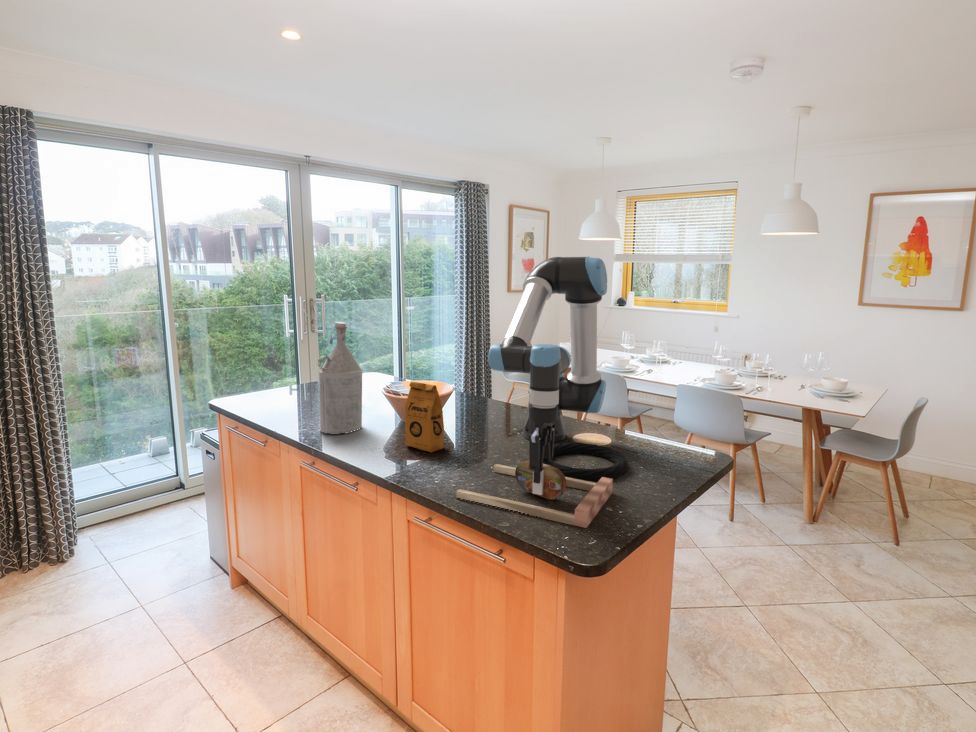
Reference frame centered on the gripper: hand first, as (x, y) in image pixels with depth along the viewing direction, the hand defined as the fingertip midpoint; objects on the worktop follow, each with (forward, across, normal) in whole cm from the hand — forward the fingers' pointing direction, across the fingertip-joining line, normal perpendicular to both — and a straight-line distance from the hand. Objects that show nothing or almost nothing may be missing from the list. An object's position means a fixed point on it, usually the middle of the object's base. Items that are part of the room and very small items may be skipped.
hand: (540, 490), depth 147 cm
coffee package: (+2, -19, -49) cm, 52 cm away
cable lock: (+2, -29, +1) cm, 29 cm away
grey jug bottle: (+2, -20, -87) cm, 89 cm away
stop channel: (+2, 0, -1) cm, 2 cm away
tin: (+1, 0, 0) cm, 1 cm away
